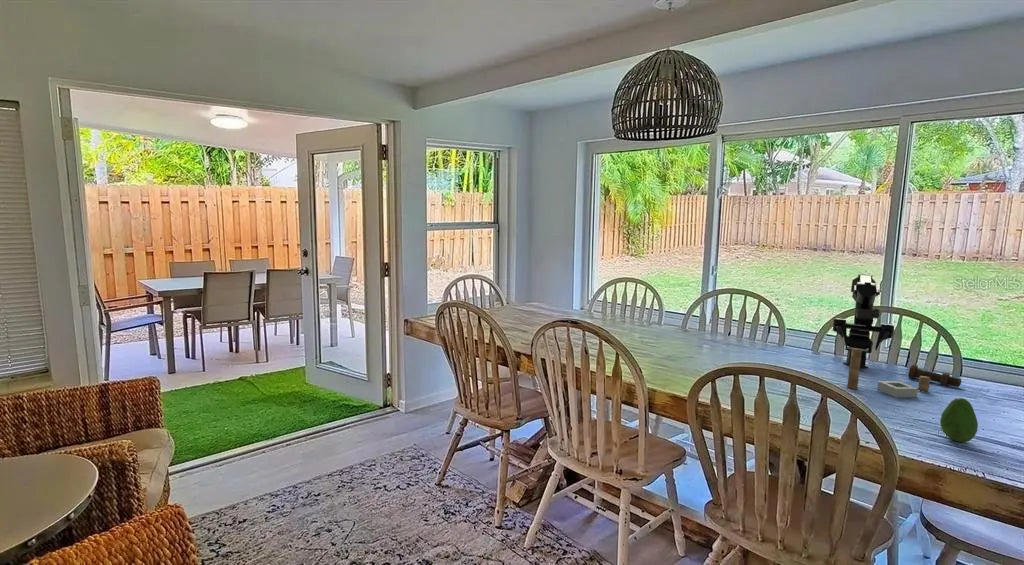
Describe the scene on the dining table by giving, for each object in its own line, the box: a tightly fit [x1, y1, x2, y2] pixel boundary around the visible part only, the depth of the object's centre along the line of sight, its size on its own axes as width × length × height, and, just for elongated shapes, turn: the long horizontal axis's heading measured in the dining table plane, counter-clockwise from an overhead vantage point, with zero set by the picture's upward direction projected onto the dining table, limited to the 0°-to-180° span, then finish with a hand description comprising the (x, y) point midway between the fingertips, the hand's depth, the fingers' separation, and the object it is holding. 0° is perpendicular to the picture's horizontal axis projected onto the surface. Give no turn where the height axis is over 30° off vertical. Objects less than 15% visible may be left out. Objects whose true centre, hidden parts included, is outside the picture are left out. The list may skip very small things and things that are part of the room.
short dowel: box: [917, 376, 931, 393], centre depth 192 cm, size 3×3×5 cm
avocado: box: [939, 397, 979, 443], centre depth 150 cm, size 8×8×12 cm
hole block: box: [876, 380, 919, 399], centre depth 189 cm, size 8×8×3 cm
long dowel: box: [847, 348, 862, 390], centre depth 192 cm, size 3×3×14 cm
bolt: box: [908, 364, 962, 388], centre depth 202 cm, size 6×5×15 cm
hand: (860, 347), depth 198 cm, fingers open, 9 cm apart
